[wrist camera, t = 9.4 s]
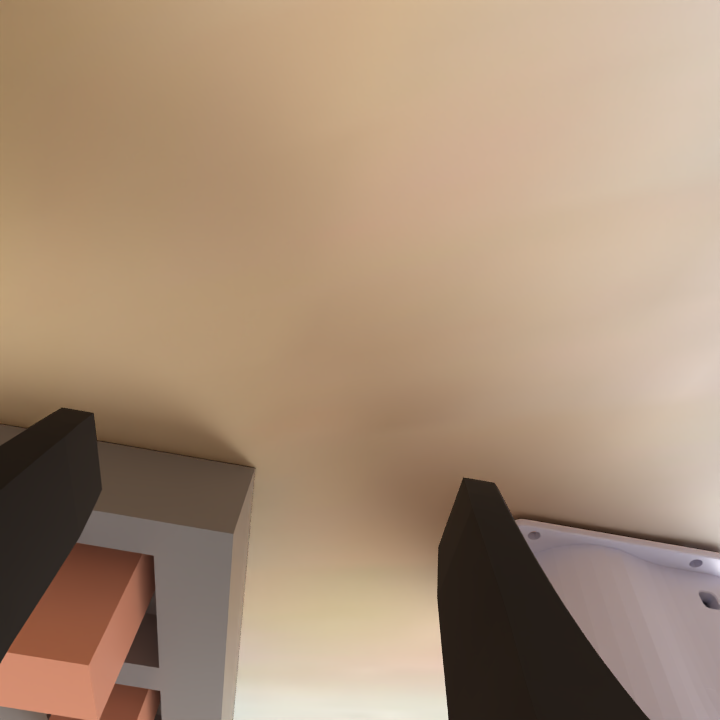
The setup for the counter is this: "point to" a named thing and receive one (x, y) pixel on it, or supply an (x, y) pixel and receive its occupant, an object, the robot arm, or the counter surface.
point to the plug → (79, 634)
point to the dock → (173, 579)
